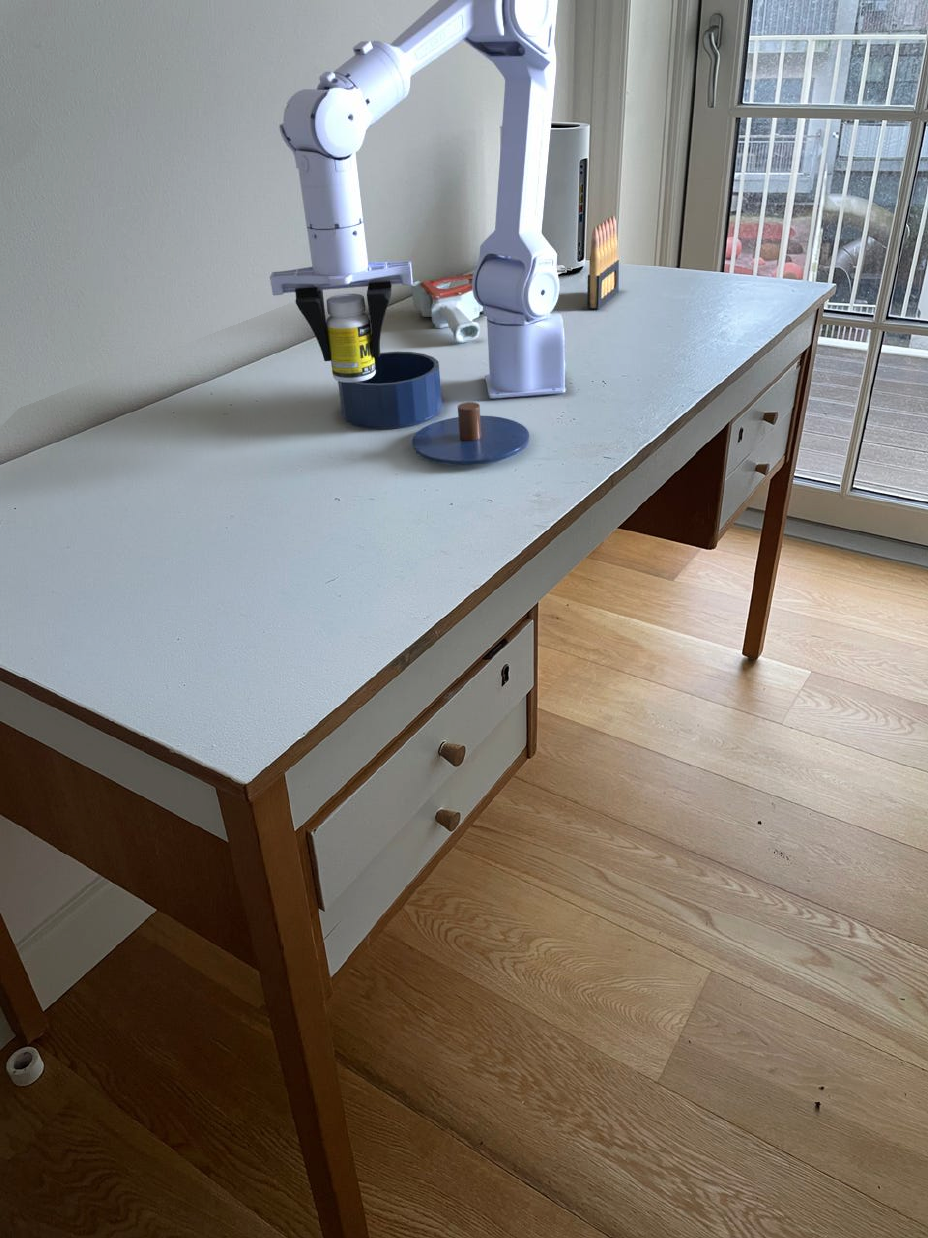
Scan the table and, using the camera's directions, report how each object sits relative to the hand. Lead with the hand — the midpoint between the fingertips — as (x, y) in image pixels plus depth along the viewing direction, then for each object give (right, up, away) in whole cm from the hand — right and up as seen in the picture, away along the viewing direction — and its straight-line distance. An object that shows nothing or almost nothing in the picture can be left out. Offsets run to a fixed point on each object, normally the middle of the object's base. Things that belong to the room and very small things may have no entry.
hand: (352, 356), depth 106 cm
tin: (+3, -3, +14) cm, 15 cm away
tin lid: (+13, -9, +3) cm, 16 cm away
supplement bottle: (0, -2, +1) cm, 2 cm away
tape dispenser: (+11, +17, +45) cm, 49 cm away
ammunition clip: (+34, +22, +50) cm, 64 cm away
